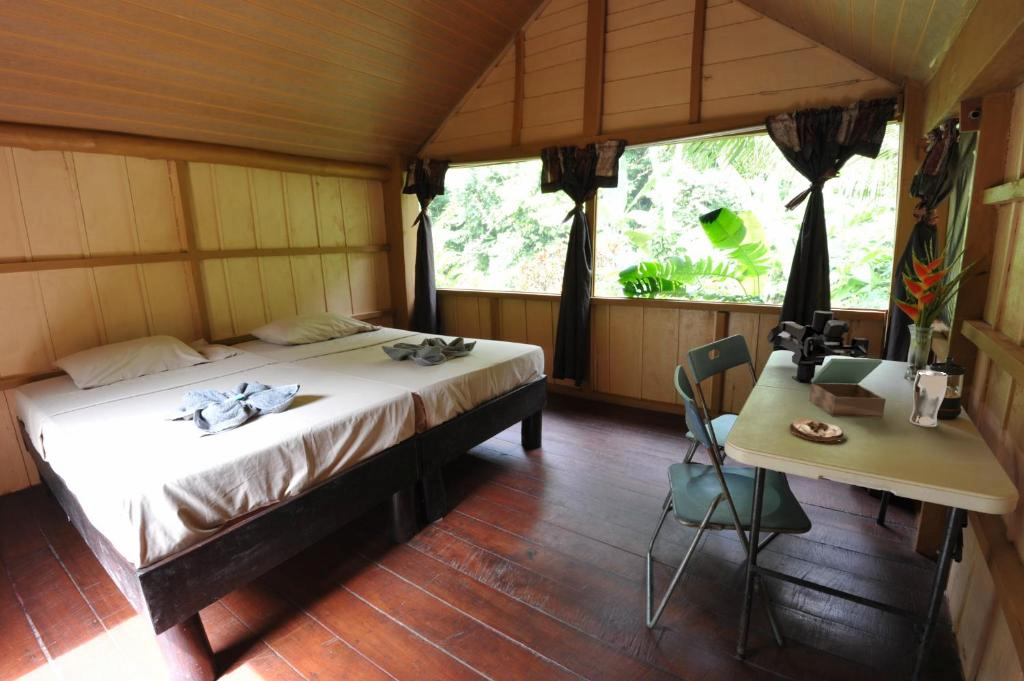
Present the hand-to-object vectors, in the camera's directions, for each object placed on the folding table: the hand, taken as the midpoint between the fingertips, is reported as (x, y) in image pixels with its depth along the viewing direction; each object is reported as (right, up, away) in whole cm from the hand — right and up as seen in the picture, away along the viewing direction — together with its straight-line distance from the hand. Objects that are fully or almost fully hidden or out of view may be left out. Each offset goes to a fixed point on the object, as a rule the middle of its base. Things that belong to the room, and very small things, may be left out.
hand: (850, 353), depth 152 cm
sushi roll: (-22, -22, -18) cm, 36 cm away
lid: (-2, -6, -1) cm, 6 cm away
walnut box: (-2, -17, -1) cm, 17 cm away
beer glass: (+13, -20, -12) cm, 26 cm away
